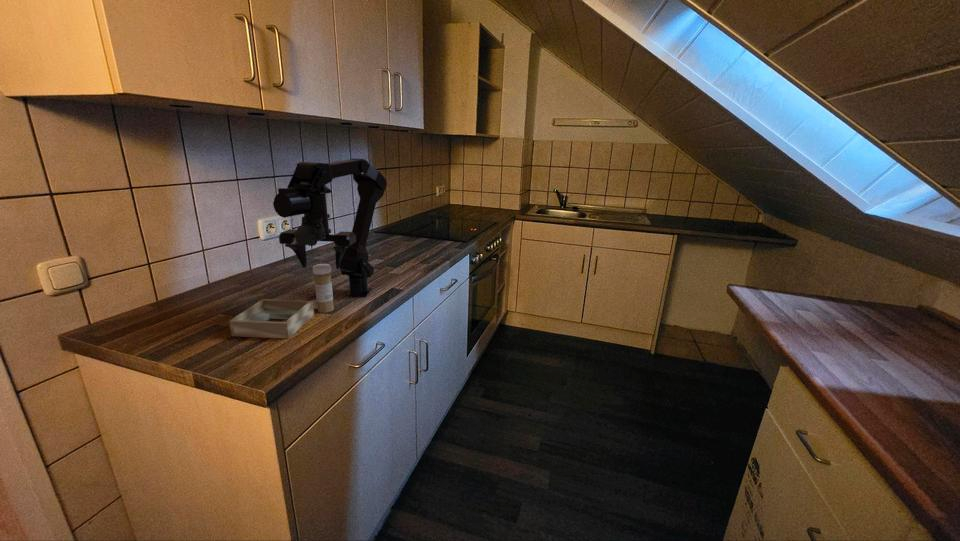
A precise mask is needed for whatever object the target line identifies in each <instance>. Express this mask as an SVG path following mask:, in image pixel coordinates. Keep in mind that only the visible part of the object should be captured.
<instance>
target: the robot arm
mask: <svg viewBox="0 0 960 541" xmlns="http://www.w3.org/2000/svg"><path fill="white" fill-rule="evenodd" d="M350 175H352V179H353V181H354V182H355V183H356V184H357V187H356V188H357V193H358V196H359V202H358V206H357V208H356V213H355V217H354V221H353V225H352V230H351V231H343V230H342V231H339V232H337V233H335V234H331V233H332V229H331V228H330V226H329V219H330V213H328V206H327V205H328V204H327V194H331V193H332V190H331V189H330V188H329V187H328V186H327V185H328V184H330V183H332V182H333V180H334V179H337V178H341V177H346V176H350ZM387 185H388V184H387V179H386V177H385V176H384V175H383V174H382V173H381V171H380V170H378V169H377V168H375V167H374V166H372V165H371V164H370V163H369V162H368V161H367V160H366V159H364V158H356V157H355V158H350V159H345V160H338V161H332V162H325V163H324V162H310V161H299V162H298V163H296V167H295V169H294V171H293V174H292V176H291V178H290V181H289V183H288V185H287V188H285V187H279V188H278V189H277V191H278V193H277V194H276V195H275V196H274V198H273V202H272V206H273V209H274V211H275V213H276V214H277V215H278V216H279V217H280V218H281V217H282V218H291V217H294V216H300V215H303V216H302V217H301V225H299V226H298V227H297V229H293V228H292V229H289V228H288V229H287V230H285V231H282V232H280V233H279V236H278V240H279V242H278V243H279V244H280V245H284V246H285V248H289V249H290V250H292V251H293V252H294V254H295V256H296V257H297V259H298V261H299V263H300V264H301V266H302V268H303V269H305V268H307V265H308V264H307V246H310V247H312V246H316V245H317V244H318V242H332V243H334V246H333V249H334V252H335V254H334V255H335V269H336V270H340V272H341V275H342V276H348V287H349V290H348V291H347V293H346V294H345V296H346V297H364V298H365V297H367V296H368V295H369V294H370V292H372V289H373V288H372V287H369V282H368V278H371V277H372V276H373V275H374V271H375V267H374V266H373V265H371V263H370V262H369V254H368V250H367V246H366V245H367V241H368V238H369V233H370V228H371V226H372V221H373V218H374V212H375V208H376V204H377V203H378V202H379V201H380V199H382V198H383V196H384V194H385V191H386V188H387Z"/></svg>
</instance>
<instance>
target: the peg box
mask: <svg viewBox="0 0 960 541" xmlns="http://www.w3.org/2000/svg"><path fill="white" fill-rule="evenodd" d="M314 308H315V307H314V301H313V300H295V299H294V300H292V299H271V298H269V299H268V298H265V299H264V298H262V299H260V300H259V301H257V302H256V303H254V304H253V305H251V306H250V307H248V308H247V309H245V310H244V311H242V312H241V313H239V314H238V315H236V316H235V317H233V318H232V319H230V320H229V321H228V322H229V328H230V334H231V337H242V338H243V337H245V338H247V337H248V338H264V339H265V338H266V339H267V338H269V339H290V338H291V337H292V336H293V335H294V334H296V332H297V331H299V330H300V329H301V328H302V327H303V326H304V325H305V324H306V323H308V321H309V320H310V319H311V318H312V317H313V316H314V315H315V309H314ZM271 319H272V320H273V319H274V320H275V319H276V320H285V321H270V320H271Z"/></svg>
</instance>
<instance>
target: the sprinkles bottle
mask: <svg viewBox="0 0 960 541" xmlns="http://www.w3.org/2000/svg"><path fill="white" fill-rule="evenodd" d="M331 272H332V270H331V265H330V264H328V263H318V264H314V265H313V266H312V274H313V278H314V289H315V298H316V305H317V308H316V310H317V312H318V313H323V314H325V313H326V314H327V313H331V312H332V311H334V310H335V306H334V295H333V286H332V285H333V283H332V278H331Z"/></svg>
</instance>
